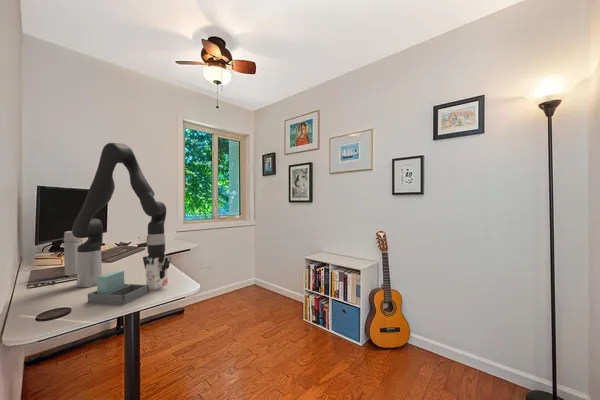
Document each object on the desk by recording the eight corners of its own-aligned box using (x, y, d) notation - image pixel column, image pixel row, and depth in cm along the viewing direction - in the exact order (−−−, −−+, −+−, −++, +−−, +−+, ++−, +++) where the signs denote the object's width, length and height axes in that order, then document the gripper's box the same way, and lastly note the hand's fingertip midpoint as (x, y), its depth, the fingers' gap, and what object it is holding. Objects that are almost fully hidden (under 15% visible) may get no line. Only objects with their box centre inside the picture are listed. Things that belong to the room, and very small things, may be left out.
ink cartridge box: (159, 283, 129) (158, 254, 129) (167, 284, 128) (167, 254, 128) (145, 289, 121) (145, 258, 120) (155, 290, 120) (154, 259, 119)
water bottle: (67, 278, 140) (65, 232, 140) (62, 276, 144) (61, 231, 144) (87, 274, 148) (86, 230, 147) (82, 272, 152) (81, 230, 152)
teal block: (97, 300, 108) (96, 276, 108) (115, 292, 116) (115, 270, 116) (106, 300, 107) (106, 277, 107) (124, 293, 115) (123, 271, 115)
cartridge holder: (87, 303, 106) (87, 293, 106) (116, 291, 119) (116, 283, 119) (123, 306, 103) (123, 296, 103) (148, 293, 115) (148, 285, 115)
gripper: (137, 244, 122) (138, 279, 122) (163, 244, 119) (164, 281, 119) (149, 241, 129) (150, 274, 129) (174, 241, 126) (175, 276, 127)
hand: (157, 277), depth 124 cm, fingers closed on ink cartridge box, 5 cm apart
